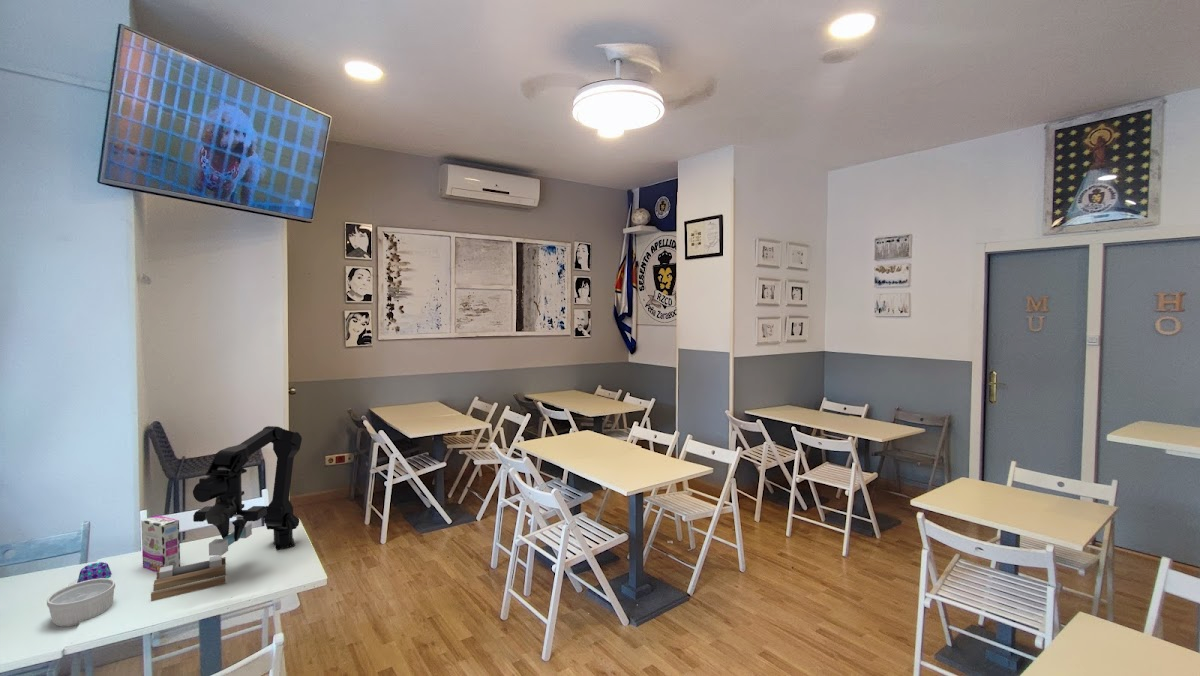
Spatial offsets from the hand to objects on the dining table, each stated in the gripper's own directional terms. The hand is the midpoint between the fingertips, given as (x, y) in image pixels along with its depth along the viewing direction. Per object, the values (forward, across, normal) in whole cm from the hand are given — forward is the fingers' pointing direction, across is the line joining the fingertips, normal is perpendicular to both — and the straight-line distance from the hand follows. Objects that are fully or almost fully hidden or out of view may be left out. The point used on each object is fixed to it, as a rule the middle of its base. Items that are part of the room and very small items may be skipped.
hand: (231, 541), depth 164 cm
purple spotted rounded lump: (+12, -39, -1) cm, 41 cm away
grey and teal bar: (+1, 0, 0) cm, 1 cm away
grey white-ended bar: (+10, -12, 0) cm, 16 cm away
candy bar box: (+12, -24, +5) cm, 27 cm away
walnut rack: (+12, -10, -4) cm, 15 cm away
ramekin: (+12, -27, -19) cm, 35 cm away
